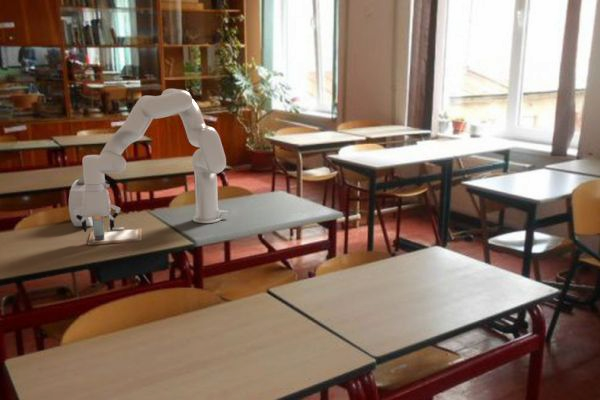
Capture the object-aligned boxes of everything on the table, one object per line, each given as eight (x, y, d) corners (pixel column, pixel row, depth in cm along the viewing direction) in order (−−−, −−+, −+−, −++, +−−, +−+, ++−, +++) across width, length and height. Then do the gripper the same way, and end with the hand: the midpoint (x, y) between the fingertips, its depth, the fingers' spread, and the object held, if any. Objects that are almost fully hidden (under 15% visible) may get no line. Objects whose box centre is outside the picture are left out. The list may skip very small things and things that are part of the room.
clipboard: (141, 229, 239) (141, 226, 239) (141, 241, 224) (141, 237, 224) (91, 233, 234) (90, 229, 234) (87, 244, 219) (87, 241, 219)
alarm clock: (88, 229, 239) (83, 183, 234) (71, 229, 239) (65, 183, 234) (106, 214, 259) (101, 172, 254) (90, 215, 260) (85, 172, 254)
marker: (105, 237, 226) (103, 213, 224) (104, 240, 222) (102, 215, 220) (94, 238, 225) (92, 213, 223) (93, 241, 221) (91, 216, 219)
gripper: (119, 184, 224) (122, 226, 228) (72, 186, 220) (76, 229, 224) (118, 188, 217) (121, 231, 221) (69, 190, 213) (74, 234, 217)
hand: (98, 230), depth 223 cm, fingers open, 9 cm apart
